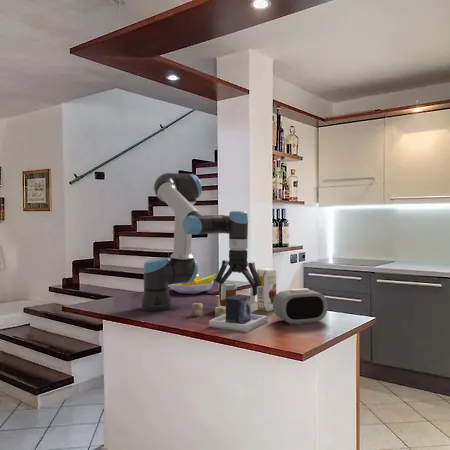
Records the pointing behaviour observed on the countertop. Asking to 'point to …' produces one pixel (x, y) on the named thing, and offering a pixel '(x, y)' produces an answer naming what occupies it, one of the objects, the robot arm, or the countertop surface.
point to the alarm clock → (300, 306)
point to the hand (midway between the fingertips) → (237, 301)
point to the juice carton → (266, 289)
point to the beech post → (197, 309)
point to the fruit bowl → (194, 285)
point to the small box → (238, 309)
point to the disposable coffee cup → (227, 292)
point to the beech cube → (220, 311)
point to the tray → (245, 327)
